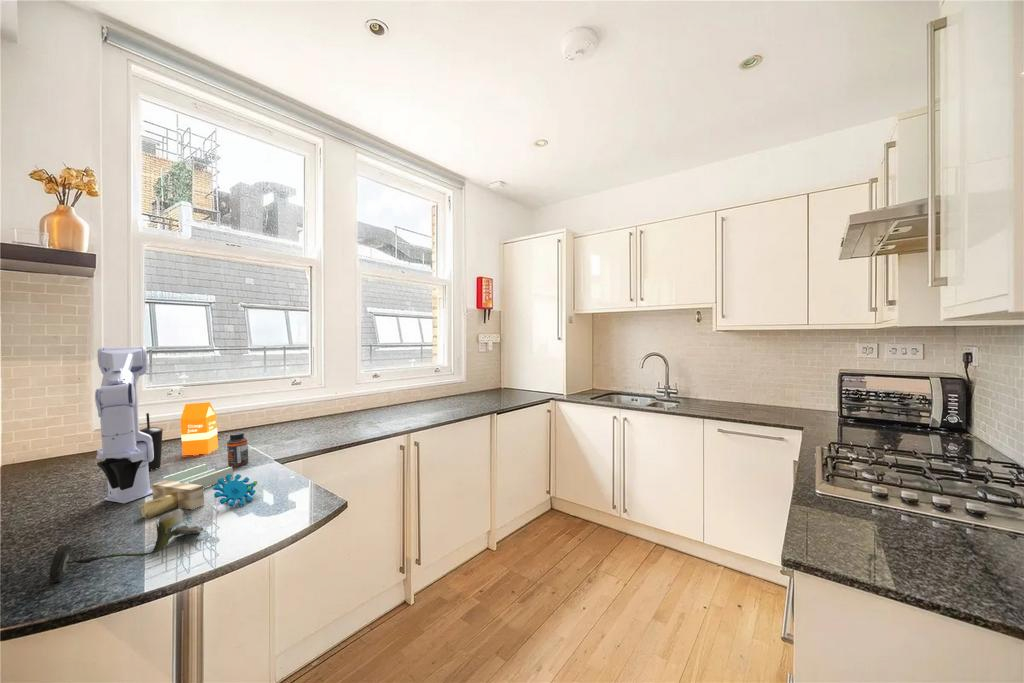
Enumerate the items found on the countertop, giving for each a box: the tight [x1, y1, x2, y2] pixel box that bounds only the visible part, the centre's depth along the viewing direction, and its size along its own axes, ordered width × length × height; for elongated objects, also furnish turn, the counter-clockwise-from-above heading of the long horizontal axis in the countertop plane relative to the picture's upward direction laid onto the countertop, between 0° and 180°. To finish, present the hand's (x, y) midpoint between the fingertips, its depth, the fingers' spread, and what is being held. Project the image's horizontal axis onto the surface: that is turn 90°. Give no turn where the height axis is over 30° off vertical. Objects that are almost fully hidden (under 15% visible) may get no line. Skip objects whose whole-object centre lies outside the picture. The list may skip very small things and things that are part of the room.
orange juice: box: [180, 401, 219, 456], centre depth 152 cm, size 8×9×20 cm
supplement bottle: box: [226, 431, 249, 468], centre depth 136 cm, size 6×6×11 cm
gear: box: [212, 473, 258, 508], centre depth 105 cm, size 11×6×10 cm
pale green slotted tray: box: [162, 463, 234, 489], centre depth 119 cm, size 13×12×4 cm
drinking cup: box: [136, 412, 164, 470], centre depth 134 cm, size 8×8×20 cm
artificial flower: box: [48, 508, 204, 585], centre depth 81 cm, size 9×22×10 cm, turn 129°
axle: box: [140, 484, 197, 519], centre depth 103 cm, size 12×4×4 cm, turn 161°
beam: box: [151, 480, 205, 511], centre depth 105 cm, size 16×3×5 cm, turn 71°
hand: (122, 487), depth 93 cm, fingers open, 3 cm apart
